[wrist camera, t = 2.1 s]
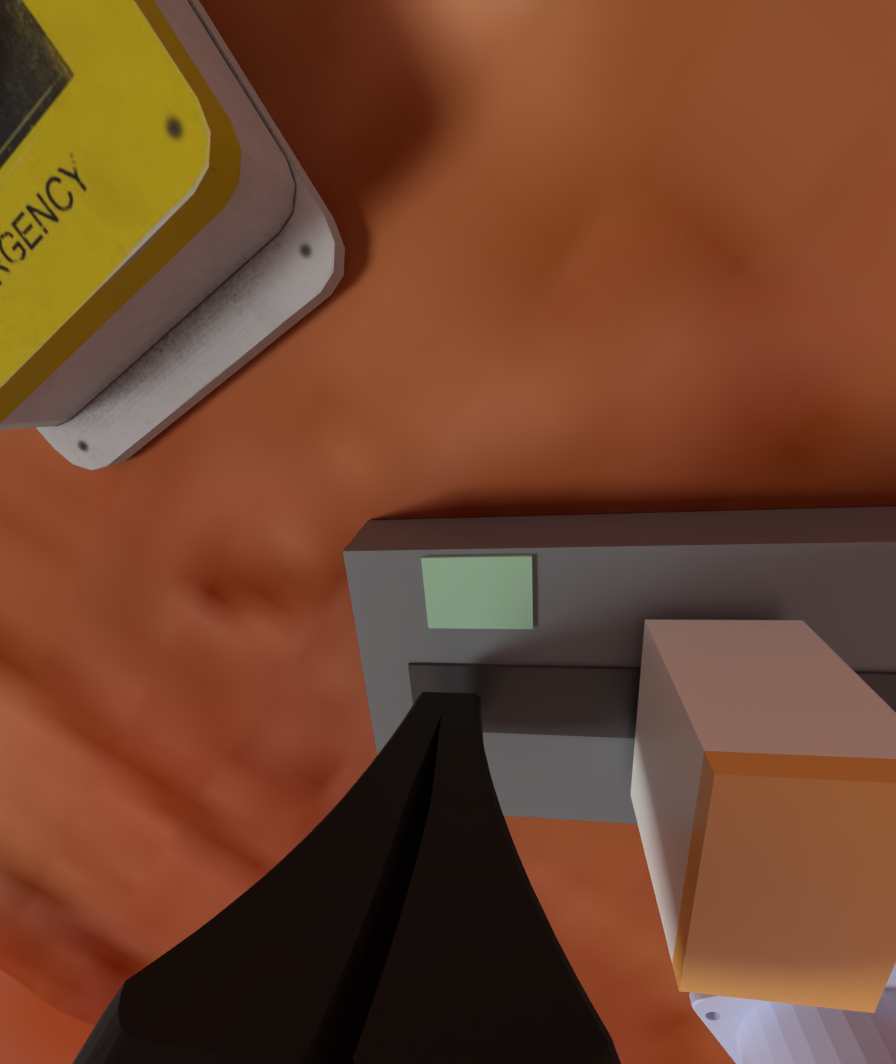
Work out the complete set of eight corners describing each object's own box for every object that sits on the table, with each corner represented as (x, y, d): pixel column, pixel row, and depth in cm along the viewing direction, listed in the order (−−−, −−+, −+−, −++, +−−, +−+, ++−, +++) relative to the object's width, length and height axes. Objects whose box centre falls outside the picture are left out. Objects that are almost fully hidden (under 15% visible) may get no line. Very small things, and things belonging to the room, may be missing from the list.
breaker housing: (1088, 500, 10) (1220, 538, 8) (971, 779, 13) (1048, 854, 11) (367, 520, 13) (341, 553, 11) (401, 752, 16) (385, 810, 14)
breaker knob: (802, 620, 10) (970, 786, 6) (762, 802, 12) (874, 1013, 8) (645, 619, 10) (714, 774, 7) (630, 794, 12) (678, 990, 8)
